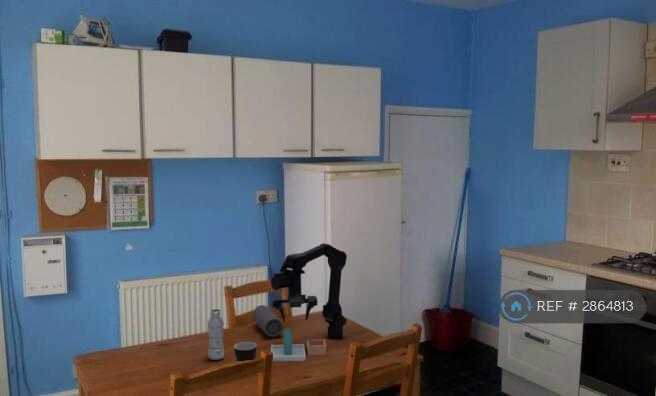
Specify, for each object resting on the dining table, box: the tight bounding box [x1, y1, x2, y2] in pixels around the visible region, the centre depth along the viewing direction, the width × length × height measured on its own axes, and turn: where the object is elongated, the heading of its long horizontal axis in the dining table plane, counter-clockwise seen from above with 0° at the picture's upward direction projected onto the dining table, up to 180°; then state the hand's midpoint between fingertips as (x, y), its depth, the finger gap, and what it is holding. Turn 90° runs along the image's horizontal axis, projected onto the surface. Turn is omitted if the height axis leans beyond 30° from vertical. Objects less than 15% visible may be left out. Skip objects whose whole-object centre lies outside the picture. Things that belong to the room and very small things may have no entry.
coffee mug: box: [233, 341, 258, 363], centre depth 209 cm, size 12×9×10 cm
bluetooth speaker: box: [252, 304, 283, 338], centre depth 253 cm, size 23×9×10 cm, turn 21°
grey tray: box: [270, 343, 307, 363], centre depth 224 cm, size 14×14×2 cm
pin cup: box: [306, 339, 327, 357], centre depth 227 cm, size 8×8×4 cm
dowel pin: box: [283, 328, 293, 355], centre depth 224 cm, size 3×3×10 cm
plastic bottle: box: [207, 308, 225, 361], centre depth 219 cm, size 6×7×20 cm
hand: (295, 321), depth 229 cm, fingers open, 9 cm apart
